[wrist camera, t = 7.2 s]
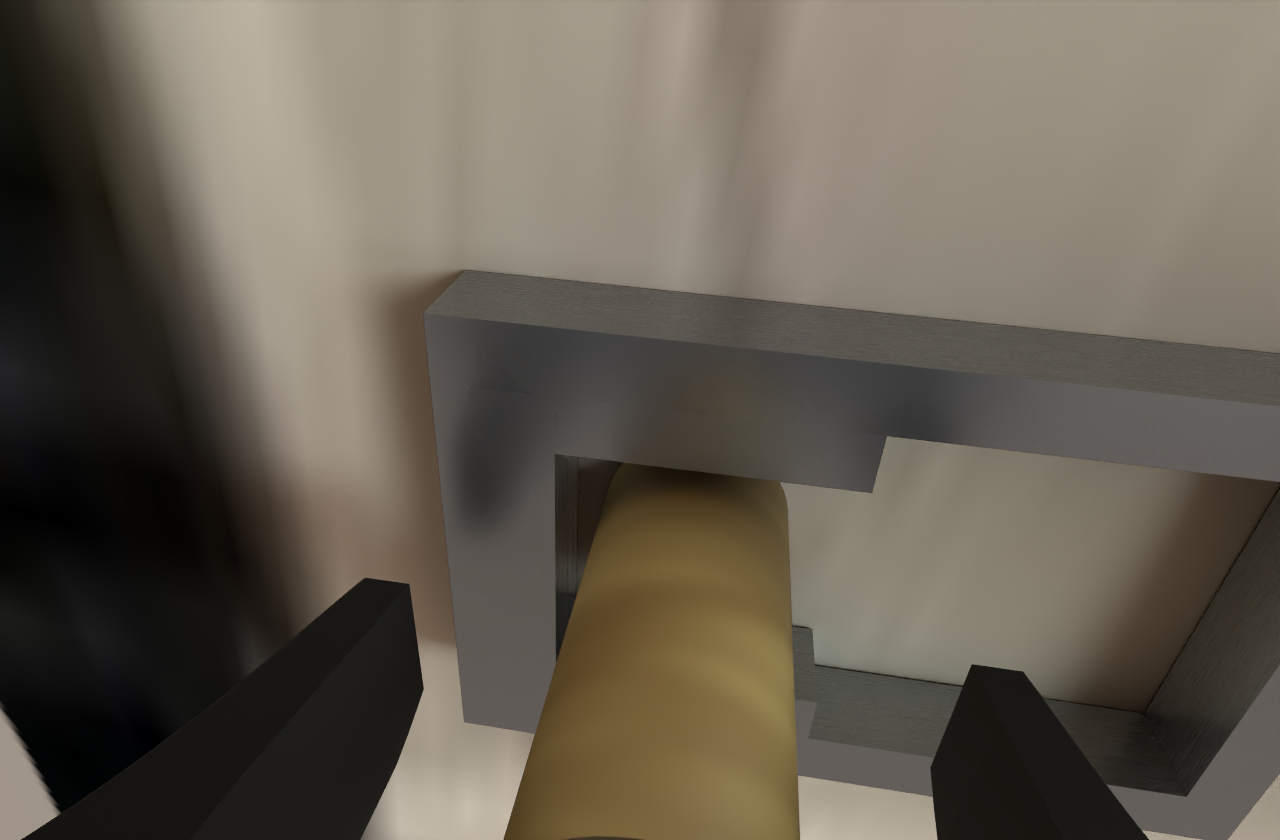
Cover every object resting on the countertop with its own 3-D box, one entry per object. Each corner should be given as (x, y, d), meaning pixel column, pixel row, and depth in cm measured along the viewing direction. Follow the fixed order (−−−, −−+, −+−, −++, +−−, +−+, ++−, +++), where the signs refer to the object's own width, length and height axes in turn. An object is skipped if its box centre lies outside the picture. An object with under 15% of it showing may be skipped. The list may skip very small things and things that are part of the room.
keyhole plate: (1439, 370, 10) (1545, 435, 9) (1180, 757, 14) (1224, 843, 13) (464, 270, 11) (422, 312, 10) (491, 654, 15) (463, 722, 14)
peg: (806, 452, 12) (857, 1109, 5) (767, 593, 13) (767, 1238, 7) (616, 420, 12) (422, 1010, 5) (599, 562, 14) (433, 1159, 7)
